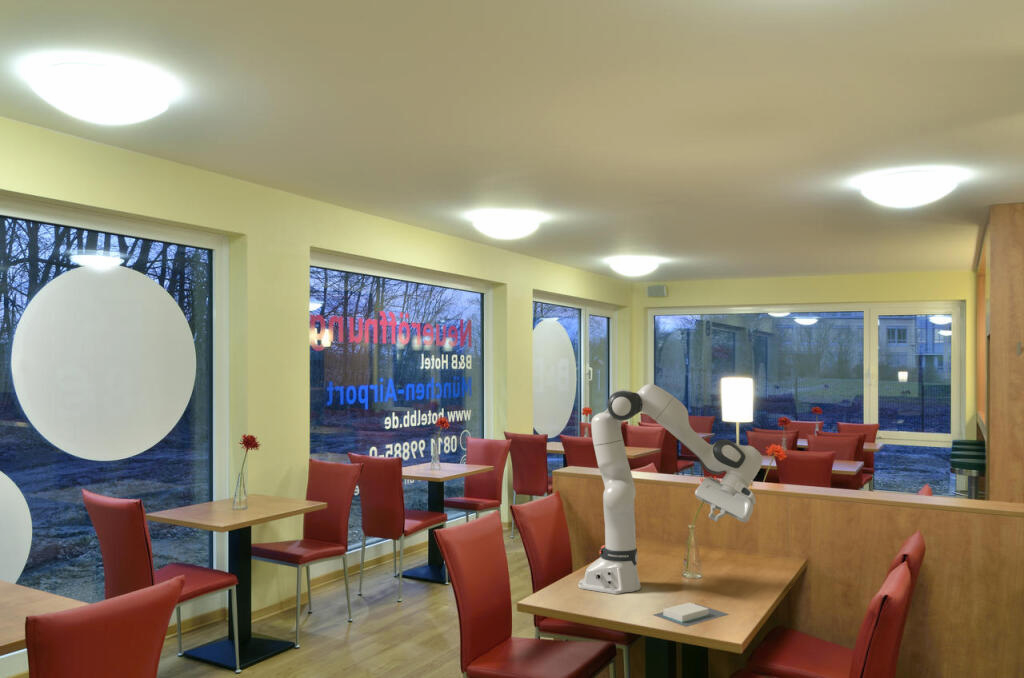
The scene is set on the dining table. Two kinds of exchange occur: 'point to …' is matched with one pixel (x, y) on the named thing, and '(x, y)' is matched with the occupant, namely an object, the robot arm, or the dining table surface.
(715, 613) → the mat
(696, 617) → the teal book
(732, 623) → the dining table surface
